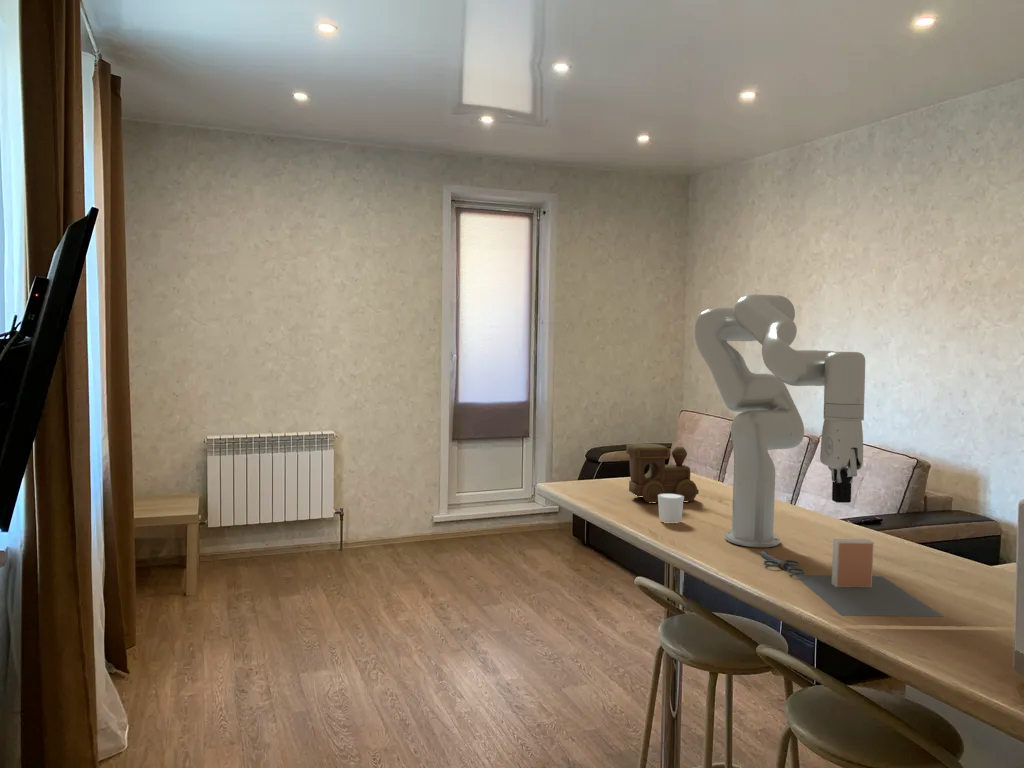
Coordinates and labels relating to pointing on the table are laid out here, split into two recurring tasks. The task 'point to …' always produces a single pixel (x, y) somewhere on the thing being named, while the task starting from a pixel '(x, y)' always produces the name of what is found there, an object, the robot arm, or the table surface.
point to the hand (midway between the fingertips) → (841, 501)
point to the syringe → (781, 563)
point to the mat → (868, 598)
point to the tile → (852, 562)
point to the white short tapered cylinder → (670, 507)
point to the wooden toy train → (659, 472)
